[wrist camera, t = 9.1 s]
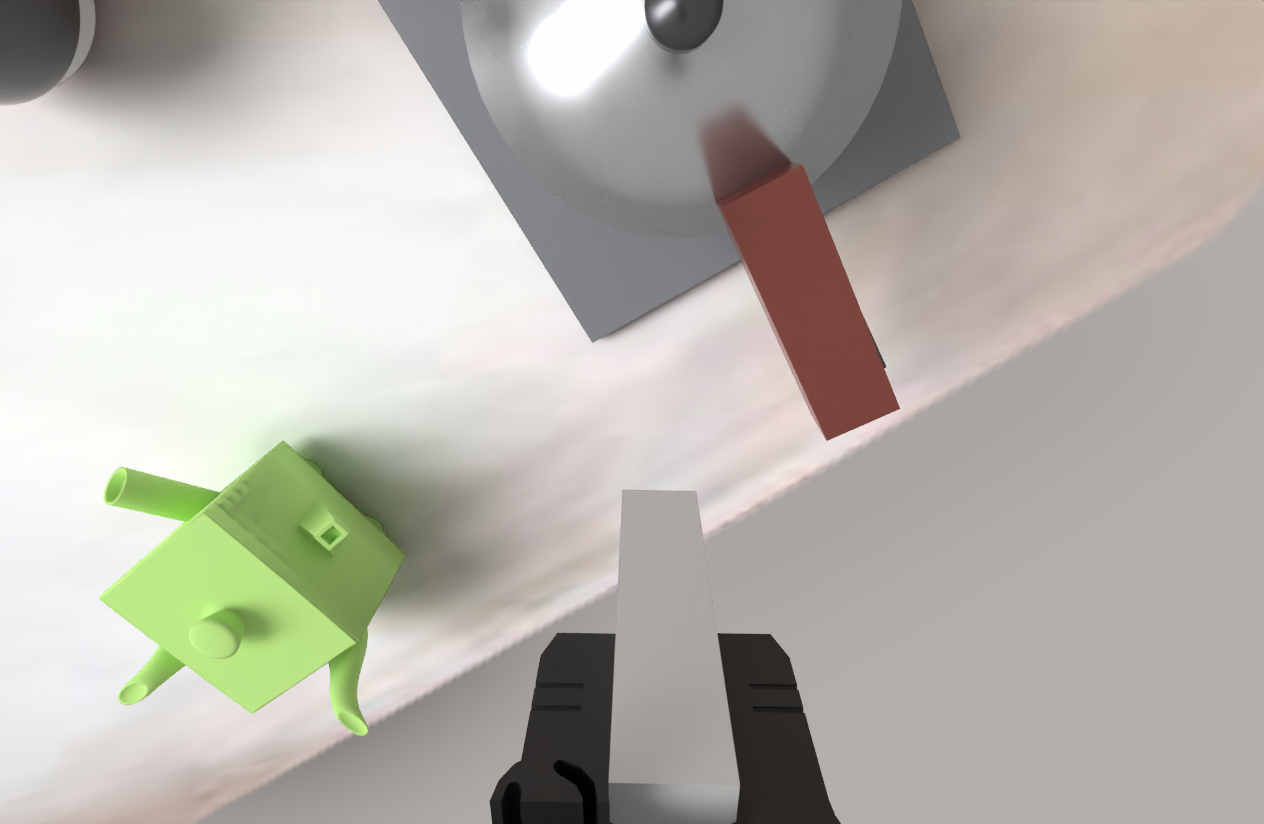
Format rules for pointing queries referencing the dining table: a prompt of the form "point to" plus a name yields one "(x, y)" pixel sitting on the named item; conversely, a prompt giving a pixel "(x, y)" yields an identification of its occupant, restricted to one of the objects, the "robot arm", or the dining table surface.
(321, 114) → the dining table surface
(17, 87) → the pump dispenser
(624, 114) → the lid
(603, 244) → the trivet
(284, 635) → the kettle
